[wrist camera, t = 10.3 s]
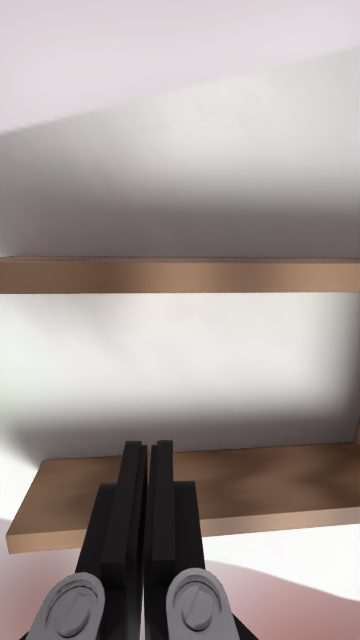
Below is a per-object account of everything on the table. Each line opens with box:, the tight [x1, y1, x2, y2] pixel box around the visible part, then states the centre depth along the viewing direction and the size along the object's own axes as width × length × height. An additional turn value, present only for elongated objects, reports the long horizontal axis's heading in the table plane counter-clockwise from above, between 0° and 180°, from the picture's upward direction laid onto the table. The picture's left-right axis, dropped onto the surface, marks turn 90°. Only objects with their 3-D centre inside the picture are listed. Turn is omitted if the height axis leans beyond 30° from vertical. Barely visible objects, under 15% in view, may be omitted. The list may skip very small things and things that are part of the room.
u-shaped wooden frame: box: [0, 256, 360, 554], centre depth 16 cm, size 23×14×5 cm, turn 90°
